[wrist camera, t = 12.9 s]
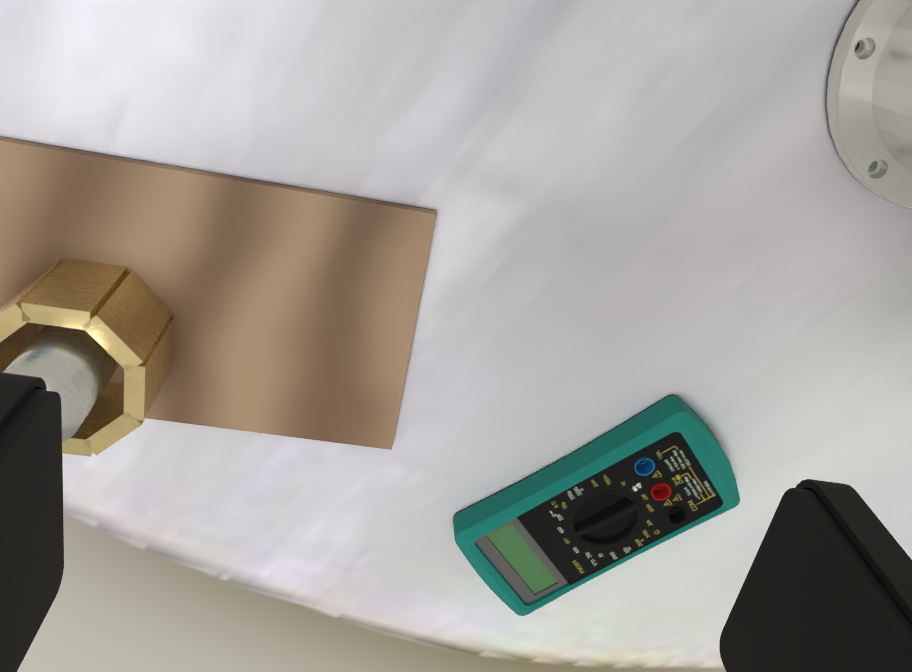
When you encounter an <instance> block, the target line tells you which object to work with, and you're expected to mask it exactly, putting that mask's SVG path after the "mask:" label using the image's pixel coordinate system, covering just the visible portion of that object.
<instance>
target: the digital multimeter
mask: <svg viewBox="0 0 912 672" xmlns="http://www.w3.org/2000/svg"><path fill="white" fill-rule="evenodd" d="M657 440H658V441H657ZM646 446H647V447H646ZM629 455H630V456H629ZM624 458H625V459H624ZM622 459H623V460H622ZM620 460H621V461H620ZM618 461H619V462H618ZM613 464H614V465H613ZM611 465H612V466H611ZM609 466H610V467H609ZM607 467H608V468H607ZM602 470H603V471H602ZM600 471H601V472H600ZM598 472H599V473H598ZM596 473H597V474H596ZM594 474H595V475H594ZM591 476H592V477H591ZM589 477H590V478H589ZM587 478H588V479H587ZM585 479H586V480H585ZM583 480H584V481H583ZM580 482H581V483H580ZM578 483H579V484H578ZM576 484H577V485H576ZM574 485H575V486H574ZM572 486H573V487H572ZM569 488H570V489H569ZM567 489H568V490H567ZM565 490H566V491H565ZM563 491H564V492H563ZM561 492H562V493H561ZM558 494H559V495H558ZM556 495H557V496H556ZM554 496H555V497H554ZM552 497H553V498H552ZM547 500H548V501H547ZM545 501H546V502H545ZM543 502H544V503H543ZM739 502H740V497H739V493H738V488H737V484H736V480H735V476H734V473H733V471H732V468H731V465H730V462H729V460H728V458H727V456H726V455H725V453H724V451H723V450H722V448H721V446H720V445H719V443H718V442H717V440H716V438H715V437H714V435H713V433H712V432H711V430H710V429H709V427H708V426H707V425H706V424H705V423H704V422H703V420H702V419H701V418H700V417H699V416H698V415H697V414H696V413H695V412H694V411H693V410H692V409H691V408H690V407H689V406H688V405H686V404H685V403H684V402H683V401H682V400H681V399H680V398H679V397H677V396H674V395H671V396H667V397H666V398H664V399H662V400H661V401H659V402H658V403H656V404H654V405H653V406H651V407H650V408H648V409H646V410H645V411H643V412H642V413H640V414H638V415H637V416H635V417H634V418H632V419H630V420H629V421H627V422H625V423H624V424H622V425H620V426H619V427H617V428H615V429H613V430H612V431H610V432H608V433H606V434H605V435H603V436H601V437H599V438H598V439H596V440H594V441H593V442H591V443H589V444H588V445H586V446H584V447H583V448H581V449H579V450H577V451H576V452H574V453H572V454H570V455H569V456H567V457H565V458H563V459H561V460H559V461H557V462H556V463H554V464H552V465H550V466H548V467H546V468H544V469H543V470H541V471H539V472H537V473H535V474H534V475H532V476H530V477H528V478H526V479H524V480H523V481H521V482H519V483H517V484H515V485H513V486H511V487H509V488H507V489H505V490H503V491H501V492H499V493H497V494H495V495H493V496H491V497H489V498H487V499H485V500H483V501H481V502H479V503H477V504H475V505H473V506H471V507H469V508H467V509H465V510H463V511H461V512H459V513H457V514H456V515H455V516H454V518H453V524H454V535H455V541H456V544H457V545H458V547H459V548H460V549H461V551H462V552H463V554H464V555H465V557H466V558H467V560H468V561H469V562H470V564H471V565H472V567H473V568H474V569H475V571H476V572H477V573H478V575H479V576H480V577H481V578H482V579H483V581H484V582H485V583H486V584H487V585H488V586H489V588H490V589H491V590H492V591H493V592H494V593H495V594H496V595H497V596H498V597H499V598H500V599H501V600H502V601H503V602H504V603H505V604H506V605H507V606H508V607H509V608H511V609H512V610H513V611H514V612H515V613H516V614H518V615H521V616H524V615H528V614H530V613H531V612H533V611H535V610H537V609H538V608H540V607H542V606H544V605H546V604H547V603H549V602H551V601H553V600H555V599H556V598H558V597H560V596H562V595H564V594H565V593H567V592H569V591H571V590H573V589H574V588H576V587H578V586H580V585H582V584H584V583H585V582H587V581H589V580H591V579H593V578H595V577H597V576H599V575H601V574H603V573H604V572H606V571H608V570H610V569H612V568H614V567H616V566H618V565H620V564H622V563H623V562H625V561H627V560H629V559H631V558H633V557H635V556H637V555H639V554H641V553H643V552H645V551H647V550H649V549H651V548H653V547H655V546H657V545H659V544H661V543H663V542H665V541H667V540H669V539H671V538H673V537H675V536H677V535H679V534H681V533H683V532H685V531H687V530H689V529H691V528H693V527H695V526H697V525H699V524H701V523H703V522H705V521H707V520H709V519H711V518H713V517H716V516H718V515H720V514H722V513H724V512H726V511H728V510H730V509H732V508H734V507H736V506H737V505H738V504H739ZM541 503H542V504H541ZM536 506H537V507H536ZM534 507H535V508H534ZM639 507H640V508H639ZM532 508H533V509H532ZM530 509H531V510H530ZM525 512H526V513H525ZM523 513H524V514H523ZM521 514H522V515H521ZM575 537H576V538H575ZM577 539H578V540H579V541H578V540H577ZM587 545H588V546H587ZM590 546H591V547H590ZM595 547H596V548H595Z"/></svg>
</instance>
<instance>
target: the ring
mask: <svg viewBox="0 0 912 672" xmlns="http://www.w3.org/2000/svg"><path fill="white" fill-rule="evenodd" d="M172 313H173V312H172V311H171V310H170V309H169V308H168V307H167V306H166V304H165V303H164V302H163V301H162V300H161V299H160V298H159V297H158V296H157V295H156V294H155V293H154V292H153V291H152V290H151V289H150V288H149V287H148V285H147V284H146V283H145V282H144V281H143V280H142V279H141V278H140V277H139V276H138V275H137V274H136V273H135V272H134V271H133V270H131V271H130V272H129V273H127V267H124V266H118V265H111V264H104V263H97V262H91V261H84V260H77V259H70V258H66V259H65V260H64V261H63V260H62V259H61V260H60V261H58V262H57V263H56V264H54V265H53V266H52V267H50V268H49V269H48V270H46V271H45V272H44V273H42V274H41V275H40V276H38V277H37V278H36V279H34V280H33V281H32V282H30V283H29V284H28V285H26V286H25V287H24V288H22V289H21V290H20V291H19V292H18V293H16V294H15V295H14V296H13V297H12V298H11V299H10V300H9V301H8V302H7V303H6V304H5V305H4V306H3V307H2V308H1V309H0V372H4V371H5V370H6V368H7V367H8V366H9V365H10V364H11V363H12V362H13V361H14V360H15V358H16V357H17V356H18V355H19V354H20V353H21V352H22V351H23V350H24V348H25V347H26V346H27V345H28V344H29V343H30V342H31V341H32V340H33V338H34V337H35V336H36V335H37V334H38V324H44V325H52V326H59V327H66V328H74V329H81V330H85V331H86V332H87V333H88V334H89V335H90V336H91V337H93V338H94V339H95V340H96V341H97V342H98V343H99V344H100V345H101V346H102V347H103V348H104V349H105V350H106V351H107V352H108V353H109V354H110V355H111V356H112V357H113V358H114V359H115V360H116V361H117V362H118V363H119V364H120V365H121V366H122V367H123V368H124V381H123V382H122V383H114V382H108V384H107V386H106V387H105V389H104V390H103V392H102V393H101V395H100V396H99V398H98V399H97V401H96V402H95V404H94V406H93V407H92V409H91V410H90V412H89V413H88V415H87V416H86V418H85V419H84V421H83V422H82V424H81V426H80V427H79V429H78V430H77V432H76V433H75V434H74V435H73V436H72V437H70V438H69V439H68V440H66V441H64V442H62V453H66V454H75V455H83V456H91V455H92V454H93V452H94V453H95V454H96V455H98V454H99V453H100V452H102V451H103V450H105V449H106V448H108V447H109V446H111V445H112V444H114V443H115V442H117V441H118V440H120V439H121V438H123V437H124V436H126V435H127V434H129V433H130V432H132V431H133V430H134V429H136V428H137V427H139V426H140V425H142V423H143V421H144V419H145V417H146V415H147V414H148V412H149V410H150V408H151V406H152V404H153V402H154V400H155V398H156V396H157V395H158V393H159V391H160V389H161V387H162V385H163V383H164V381H165V379H166V378H167V376H168V374H169V372H170V370H171V368H172V366H173V347H174V324H175V317H171V315H172Z"/></svg>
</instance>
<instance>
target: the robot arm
mask: <svg viewBox="0 0 912 672" xmlns="http://www.w3.org/2000/svg"><path fill="white" fill-rule="evenodd" d="M858 41H859V43H860V44H859V48H858V49H857V50H856V51H855V46H856V45H857V43H858ZM827 113H828V120H829V128H830V132H831V135H832V138H833V141H834V144H835V146H836V149H837V152H838V154H839V156H840V157H841V159H842V160H843V162H844V163H845V165H846V167H847V168H848V170H849V171H850V173H851V174H852V175H853V176H854V177H856V178H857V179H858V180H859V181H860V182H861V183H862V184H863V185H864V186H865V187H866V188H867V189H869V190H871V191H873V192H874V193H876V194H877V195H879V196H881V197H882V198H884V199H886V200H888V201H891V202H893V203H895V204H898V205H900V206H902V207H905V208H909V209H912V0H860V1H859V2H858V4H857V5H856V7H855V9H854V10H853V12H852V14H851V15H850V17H849V18H848V20H847V22H846V25H845V27H844V29H843V32H842V34H841V36H840V39H839V41H838V44H837V46H836V48H835V52H834V56H833V60H832V64H831V68H830V73H829V77H828V90H827ZM872 163H873V164H872ZM871 164H872V166H871V167H870V165H871ZM869 167H870V168H869ZM63 544H64V543H63V476H62V410H61V397H60V394H59V393H58V392H55V391H47V388H46V384H45V381H44V380H43V379H42V378H41V377H34V376H26V375H19V374H11V373H4V372H0V672H17V670H18V668H19V666H20V664H21V662H22V660H23V659H24V657H25V655H26V653H27V651H28V649H29V647H30V645H31V643H32V641H33V639H34V637H35V636H36V634H37V632H38V630H39V628H40V625H41V624H42V622H43V620H44V618H45V616H46V614H47V612H48V610H49V609H50V607H51V605H52V603H53V601H54V599H55V597H56V594H57V592H58V590H59V587H60V583H61V580H62V575H63V569H64V545H63ZM720 655H721V659H722V662H723V665H724V667H725V669H726V671H727V672H912V560H911V559H910V557H909V556H908V555H907V554H906V552H905V551H904V550H903V549H902V547H901V546H900V545H899V544H898V543H897V541H896V540H895V539H894V538H893V536H892V535H891V534H890V533H889V531H888V530H887V529H886V528H885V526H884V525H883V524H882V523H881V521H880V520H879V519H878V518H877V517H876V515H875V514H874V513H873V512H872V510H871V509H870V508H869V507H868V505H867V504H866V503H865V502H864V500H863V499H862V498H861V497H860V495H859V494H858V493H857V492H856V491H855V490H854V489H853V488H852V487H851V486H849V485H846V484H840V483H833V482H825V481H818V480H810V479H807V480H803V481H801V482H800V483H799V484H798V485H797V486H796V488H791V489H788V490H787V491H786V492H785V493H784V495H783V497H782V499H781V501H780V503H779V506H778V508H777V510H776V512H775V514H774V517H773V519H772V521H771V523H770V526H769V528H768V530H767V532H766V535H765V537H764V539H763V541H762V543H761V546H760V548H759V550H758V552H757V555H756V557H755V559H754V561H753V564H752V566H751V568H750V570H749V572H748V575H747V577H746V579H745V581H744V584H743V586H742V588H741V590H740V593H739V595H738V597H737V599H736V602H735V604H734V606H733V608H732V610H731V613H730V615H729V617H728V619H727V622H726V624H725V626H724V628H723V631H722V634H721V637H720Z"/></svg>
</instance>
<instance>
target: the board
mask: <svg viewBox="0 0 912 672" xmlns="http://www.w3.org/2000/svg"><path fill="white" fill-rule="evenodd" d="M435 219H436V210H430V209H424V208H419V207H413V206H407V205H401V204H395V203H389V202H383V201H377V200H371V199H365V198H360V197H354V196H348V195H342V194H336V193H330V192H324V191H318V190H312V189H306V188H301V187H295V186H289V185H283V184H277V183H271V182H265V181H259V180H253V179H247V178H242V177H236V176H230V175H224V174H218V173H212V172H206V171H200V170H194V169H188V168H183V167H177V166H171V165H165V164H159V163H153V162H147V161H141V160H135V159H129V158H124V157H118V156H112V155H106V154H100V153H94V152H88V151H82V150H76V149H70V148H65V147H59V146H53V145H47V144H41V143H35V142H29V141H23V140H17V139H11V138H6V137H0V309H1V308H2V307H3V306H4V305H5V304H6V303H7V302H8V301H9V300H10V299H11V298H12V297H13V296H14V295H15V294H16V293H18V292H19V291H20V290H21V289H22V288H24V287H25V286H26V285H28V284H29V283H30V282H32V281H33V280H34V279H36V278H37V277H38V276H40V275H41V274H42V273H44V272H45V271H46V270H48V269H49V268H50V267H52V266H53V265H54V264H56V263H57V262H58V261H60V260H61V259H62V260H63V261H64V260H65V259H66V258H70V259H77V260H84V261H91V262H97V263H104V264H111V265H118V266H124V267H127V273H129V272H130V271H131V270H133V271H134V272H135V273H136V274H137V275H138V276H139V277H140V278H141V279H142V280H143V281H144V282H145V283H146V284H147V285H148V287H149V288H150V289H151V290H152V291H153V292H154V293H155V294H156V295H157V296H158V297H159V298H160V299H161V300H162V301H163V302H164V303H165V304H166V306H167V307H168V308H169V309H170V310H171V311H172V312H173V313H172V315H171V317H175V324H174V347H173V366H172V368H171V370H170V372H169V374H168V376H167V378H166V379H165V381H164V383H163V385H162V387H161V389H160V391H159V393H158V395H157V396H156V398H155V400H154V402H153V404H152V406H151V408H150V410H149V412H148V414H147V415H146V417H145V418H149V419H157V420H165V421H172V422H180V423H188V424H196V425H204V426H211V427H219V428H227V429H235V430H243V431H250V432H258V433H266V434H274V435H281V436H289V437H297V438H305V439H313V440H320V441H328V442H336V443H344V444H352V445H359V446H367V447H375V448H383V449H391V450H392V445H393V440H394V435H395V429H396V424H397V419H398V414H399V408H400V403H401V398H402V393H403V387H404V382H405V377H406V372H407V366H408V361H409V356H410V351H411V345H412V340H413V335H414V330H415V324H416V319H417V314H418V309H419V303H420V298H421V293H422V288H423V282H424V277H425V272H426V267H427V261H428V256H429V251H430V246H431V240H432V235H433V230H434V225H435ZM44 326H45V325H44V324H38V333H39V332H40V331H41V330H42V328H43V327H44ZM123 381H124V368H123V367H122V366H121V365H119V367H118V369H117V370H116V372H115V373H114V375H113V376H112V378H111V379H110V381H109V382H114V383H122V382H123Z"/></svg>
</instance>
